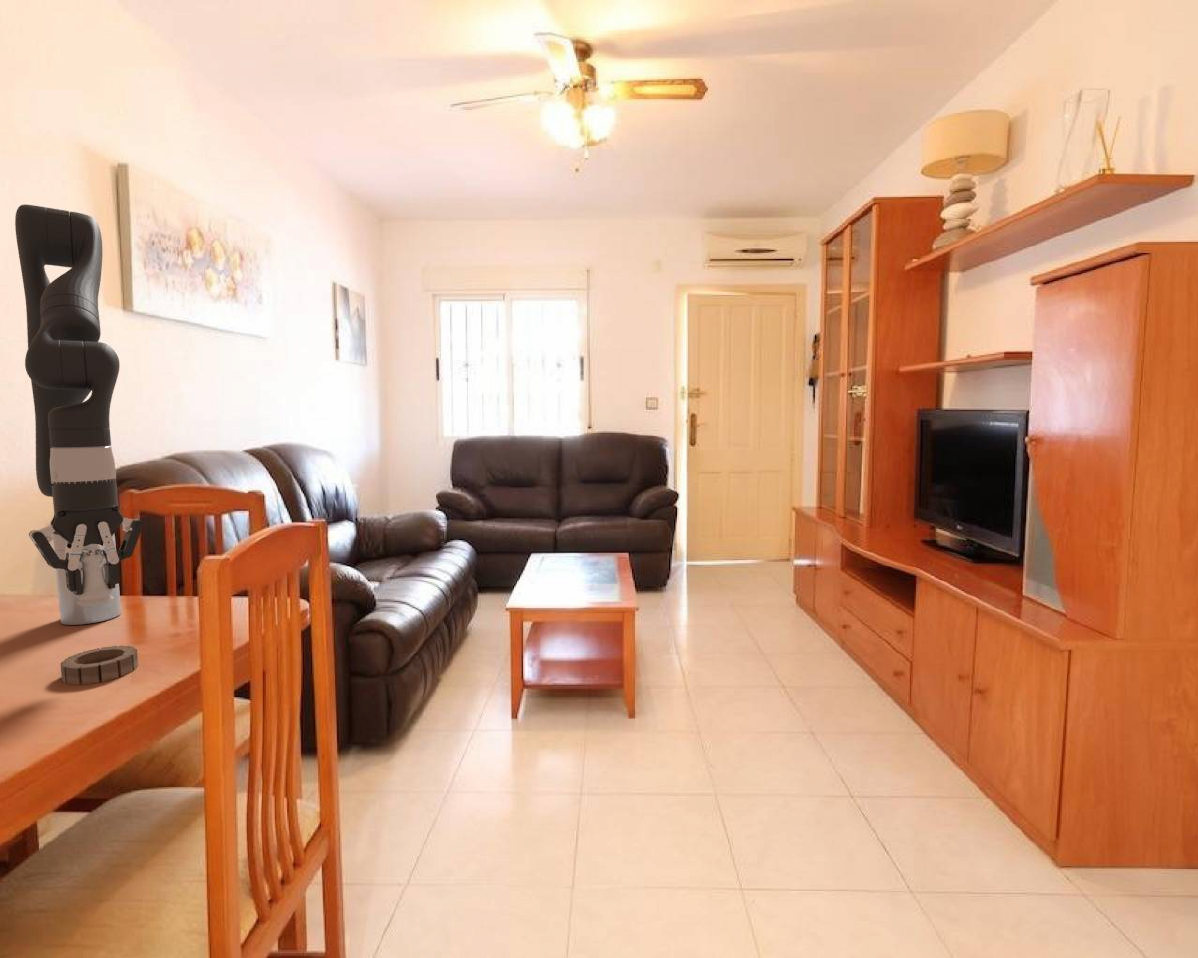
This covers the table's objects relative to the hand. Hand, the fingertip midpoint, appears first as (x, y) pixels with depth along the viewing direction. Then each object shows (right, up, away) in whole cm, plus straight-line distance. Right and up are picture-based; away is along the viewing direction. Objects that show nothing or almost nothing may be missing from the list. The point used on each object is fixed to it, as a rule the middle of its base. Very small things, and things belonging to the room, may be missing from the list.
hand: (94, 590), depth 97 cm
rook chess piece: (0, -2, 0) cm, 2 cm away
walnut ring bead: (0, -13, +1) cm, 13 cm away
